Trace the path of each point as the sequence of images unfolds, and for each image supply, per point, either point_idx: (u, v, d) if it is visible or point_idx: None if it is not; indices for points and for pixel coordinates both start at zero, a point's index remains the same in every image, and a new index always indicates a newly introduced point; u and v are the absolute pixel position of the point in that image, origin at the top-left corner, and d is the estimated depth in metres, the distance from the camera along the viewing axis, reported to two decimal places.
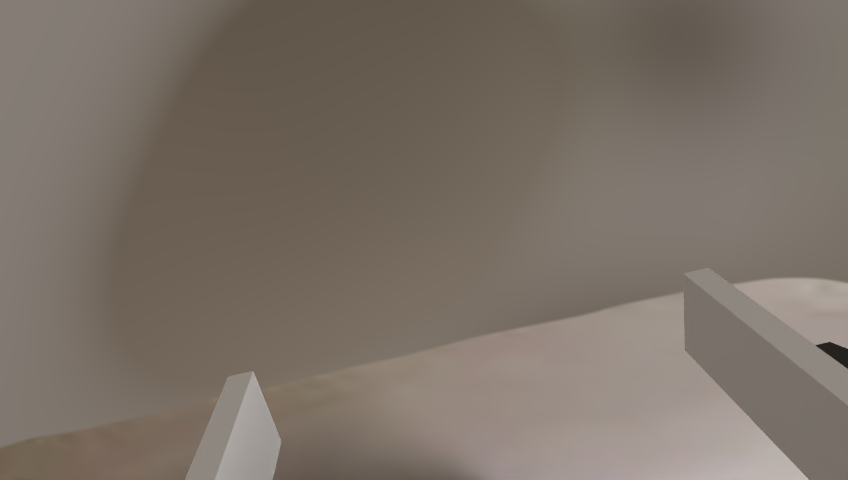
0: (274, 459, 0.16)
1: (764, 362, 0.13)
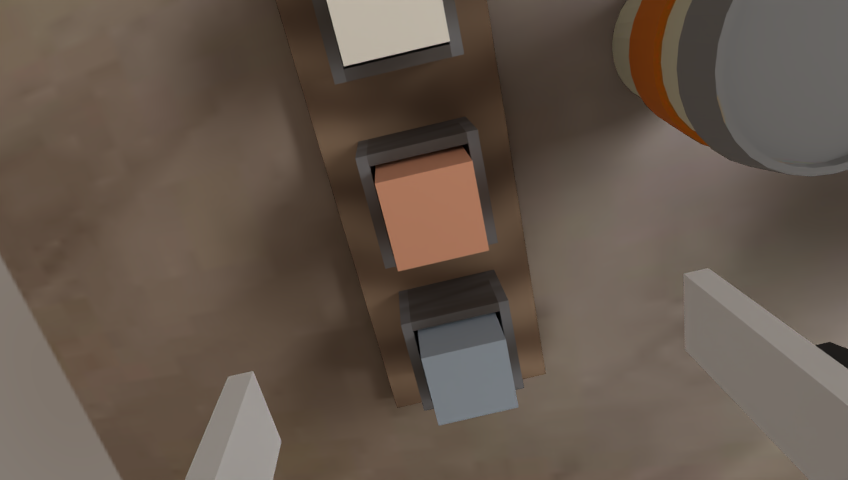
0: (274, 460, 0.16)
1: (764, 362, 0.13)
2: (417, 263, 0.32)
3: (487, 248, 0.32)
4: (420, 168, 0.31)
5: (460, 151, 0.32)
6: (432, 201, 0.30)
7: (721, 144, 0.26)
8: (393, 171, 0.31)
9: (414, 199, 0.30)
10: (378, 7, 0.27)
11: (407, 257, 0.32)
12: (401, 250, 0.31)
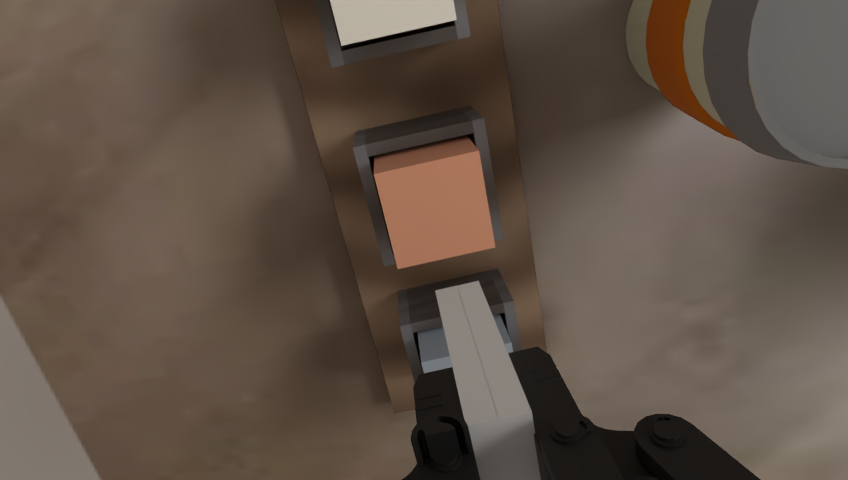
0: None
1: None
2: (418, 260, 0.30)
3: (493, 245, 0.30)
4: (422, 158, 0.29)
5: (465, 141, 0.30)
6: (435, 194, 0.28)
7: (750, 133, 0.24)
8: (393, 161, 0.29)
9: (416, 192, 0.28)
10: None
11: (407, 254, 0.30)
12: (401, 247, 0.29)
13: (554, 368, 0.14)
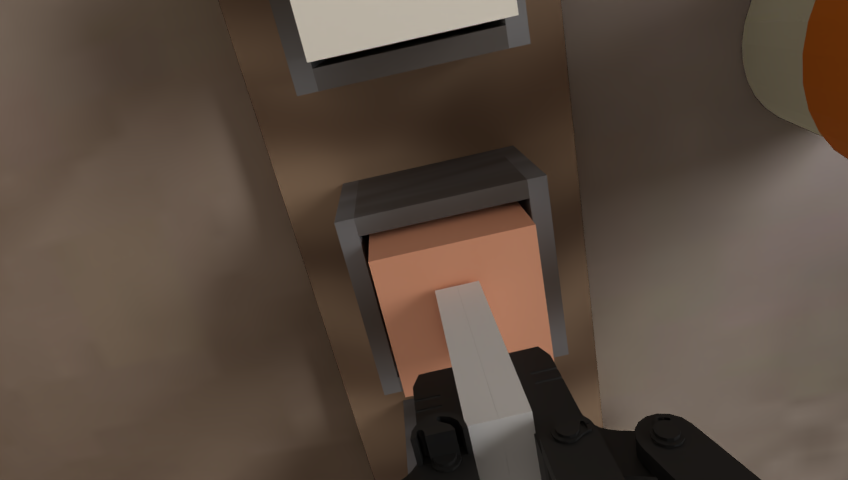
0: None
1: None
2: None
3: None
4: (445, 233, 0.18)
5: None
6: None
7: None
8: (399, 235, 0.19)
9: (434, 287, 0.18)
10: None
11: None
12: (411, 366, 0.19)
13: (554, 368, 0.14)
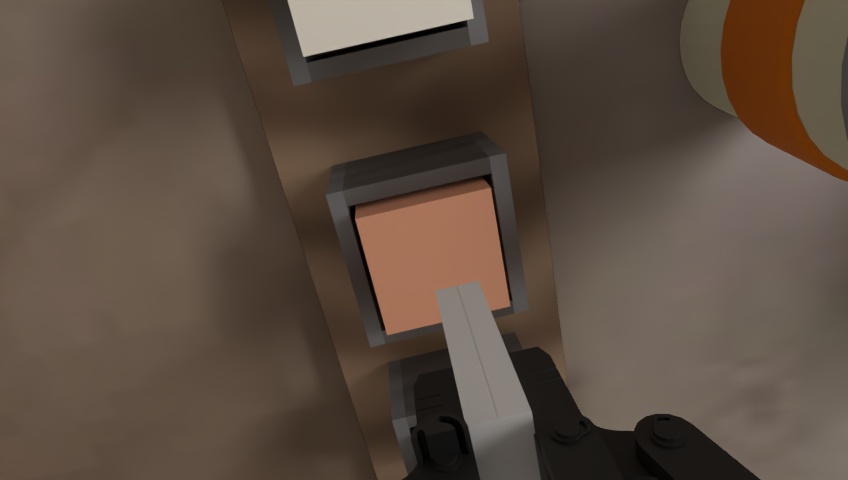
0: None
1: None
2: (413, 324, 0.23)
3: (508, 303, 0.24)
4: (418, 196, 0.22)
5: None
6: (435, 243, 0.22)
7: None
8: (381, 200, 0.23)
9: (409, 240, 0.22)
10: None
11: (400, 316, 0.23)
12: (392, 308, 0.23)
13: (554, 368, 0.14)
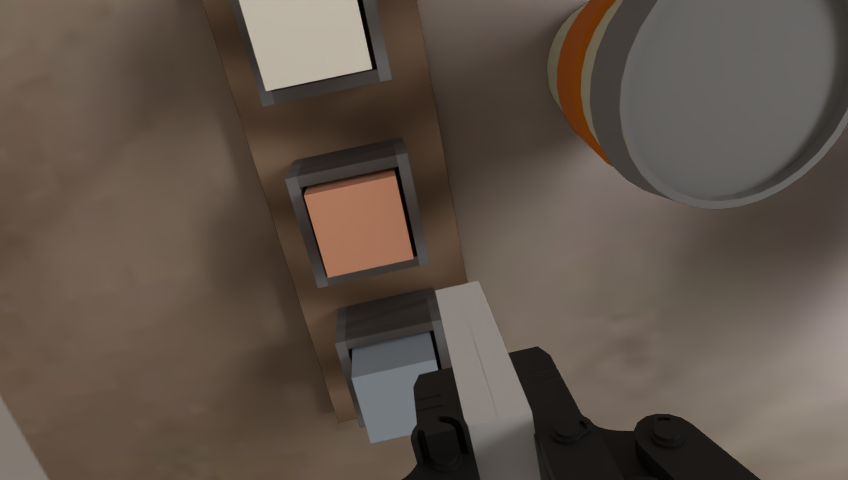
0: None
1: None
2: (346, 270, 0.34)
3: (412, 257, 0.34)
4: (348, 181, 0.33)
5: None
6: (359, 213, 0.33)
7: (632, 176, 0.27)
8: (324, 183, 0.33)
9: (341, 211, 0.33)
10: (299, 34, 0.27)
11: (336, 264, 0.34)
12: (330, 258, 0.34)
13: (554, 368, 0.14)
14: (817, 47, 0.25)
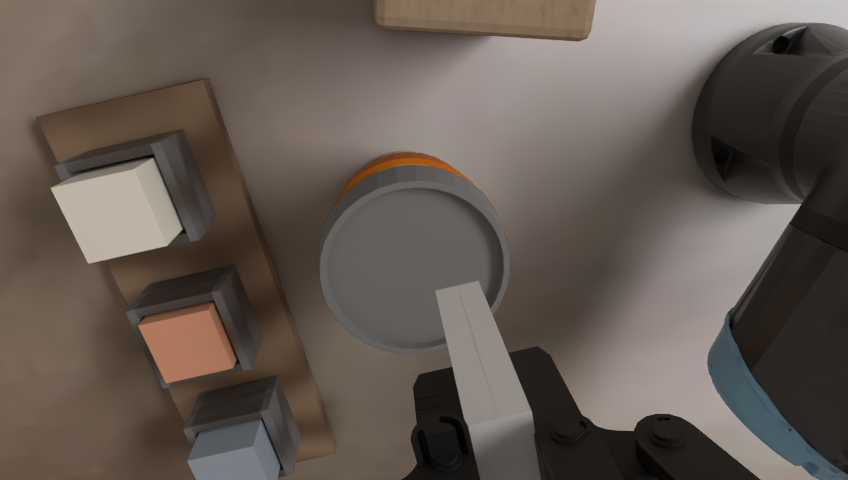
0: None
1: None
2: (179, 377, 0.43)
3: (231, 367, 0.43)
4: (176, 312, 0.42)
5: None
6: (183, 336, 0.42)
7: None
8: None
9: (169, 335, 0.42)
10: (108, 225, 0.36)
11: (171, 374, 0.43)
12: (166, 369, 0.43)
13: (554, 368, 0.14)
14: (473, 243, 0.34)
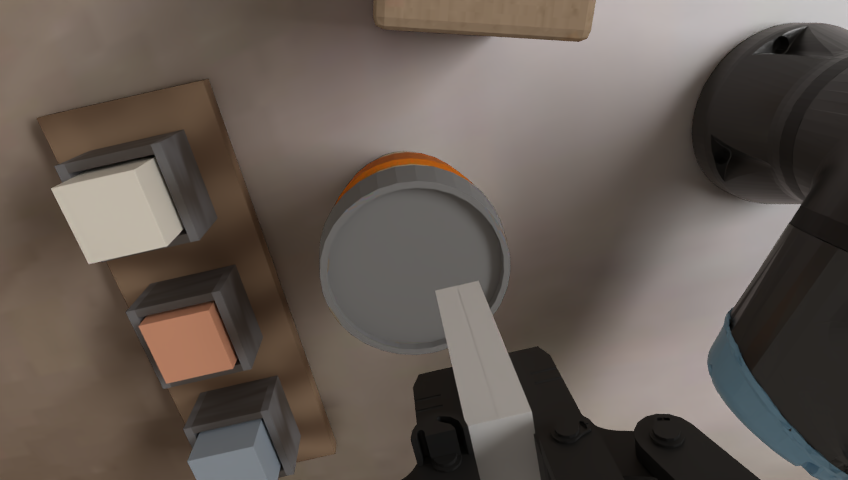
0: None
1: None
2: (180, 378, 0.43)
3: (231, 367, 0.43)
4: (176, 312, 0.42)
5: None
6: (183, 337, 0.42)
7: None
8: None
9: (169, 336, 0.42)
10: (108, 225, 0.36)
11: (171, 374, 0.43)
12: (166, 369, 0.43)
13: (554, 368, 0.14)
14: (473, 243, 0.34)
